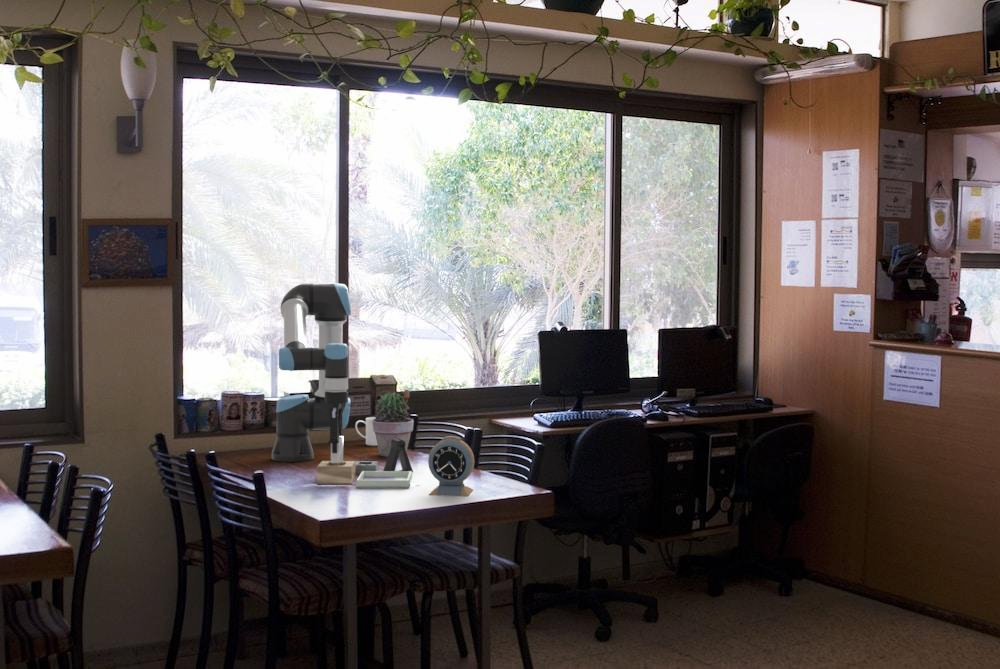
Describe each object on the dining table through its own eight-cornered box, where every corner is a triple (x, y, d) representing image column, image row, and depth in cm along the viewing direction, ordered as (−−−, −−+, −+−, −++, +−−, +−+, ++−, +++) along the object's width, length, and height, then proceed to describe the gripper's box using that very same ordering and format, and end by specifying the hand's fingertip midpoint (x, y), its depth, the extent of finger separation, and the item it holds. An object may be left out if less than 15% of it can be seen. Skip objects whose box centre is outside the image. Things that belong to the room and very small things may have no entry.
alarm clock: (425, 495, 340) (425, 438, 339) (431, 489, 350) (432, 433, 349) (471, 496, 338) (471, 439, 337) (476, 490, 348) (476, 434, 347)
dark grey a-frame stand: (388, 476, 371) (388, 441, 371) (382, 473, 377) (382, 438, 376) (413, 474, 375) (413, 439, 374) (407, 471, 380) (407, 437, 380)
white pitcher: (383, 442, 446) (383, 416, 446) (387, 445, 439) (387, 419, 438) (353, 443, 442) (353, 417, 442) (357, 446, 435) (357, 420, 434)
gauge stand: (354, 472, 378) (354, 461, 377) (378, 472, 378) (378, 461, 377) (352, 476, 370) (352, 465, 369) (375, 477, 370) (375, 465, 369)
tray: (362, 478, 367) (362, 471, 367) (412, 478, 367) (412, 471, 367) (356, 488, 350) (356, 480, 350) (408, 488, 351) (408, 480, 350)
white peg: (332, 480, 362) (333, 435, 362) (343, 481, 362) (344, 435, 362) (330, 482, 359) (331, 436, 358) (341, 483, 359) (342, 437, 358)
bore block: (322, 478, 366) (322, 460, 366) (355, 478, 366) (355, 461, 366) (317, 485, 355) (317, 466, 355) (351, 485, 355) (351, 466, 355)
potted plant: (368, 450, 425) (368, 386, 424) (418, 451, 424) (419, 386, 423) (360, 458, 407) (360, 391, 406) (413, 459, 406) (413, 391, 405)
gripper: (328, 387, 368) (329, 456, 370) (320, 393, 349) (320, 466, 350) (351, 387, 369) (351, 456, 370) (344, 393, 349) (344, 466, 351)
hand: (336, 460), depth 360 cm, fingers open, 6 cm apart
